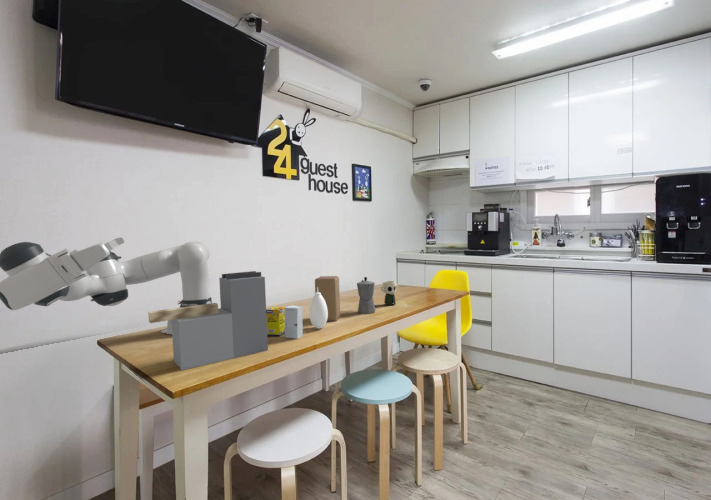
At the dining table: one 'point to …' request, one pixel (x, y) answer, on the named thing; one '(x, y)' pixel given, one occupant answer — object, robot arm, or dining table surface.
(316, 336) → the dining table surface
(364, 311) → the coffeepot
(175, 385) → the dining table surface
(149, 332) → the dining table surface
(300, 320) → the skincare box
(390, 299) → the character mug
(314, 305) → the sauce bottle
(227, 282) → the stepped stand
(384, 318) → the dining table surface
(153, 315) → the maple bar
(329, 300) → the wooden block
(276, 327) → the supplement box
